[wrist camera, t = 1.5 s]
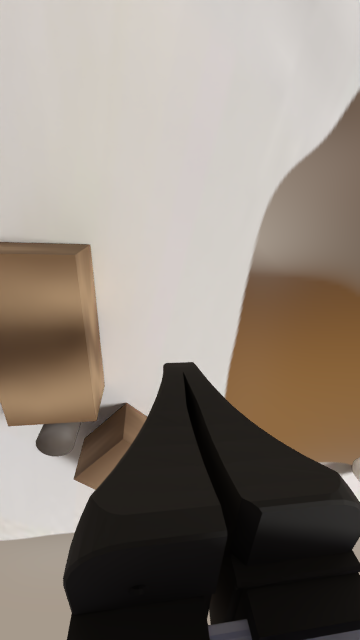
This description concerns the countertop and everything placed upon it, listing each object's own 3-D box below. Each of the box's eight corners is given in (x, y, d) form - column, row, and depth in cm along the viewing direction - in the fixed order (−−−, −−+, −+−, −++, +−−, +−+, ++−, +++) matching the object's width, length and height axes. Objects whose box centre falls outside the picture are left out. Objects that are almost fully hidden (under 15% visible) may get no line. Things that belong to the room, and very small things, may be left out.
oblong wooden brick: (208, 458, 28) (217, 495, 24) (169, 486, 29) (172, 526, 25) (126, 402, 23) (122, 439, 20) (84, 438, 24) (73, 479, 21)
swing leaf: (107, 410, 23) (98, 453, 19) (38, 414, 22) (15, 459, 19) (90, 244, 17) (73, 256, 13) (-5, 242, 16) (-54, 253, 12)
